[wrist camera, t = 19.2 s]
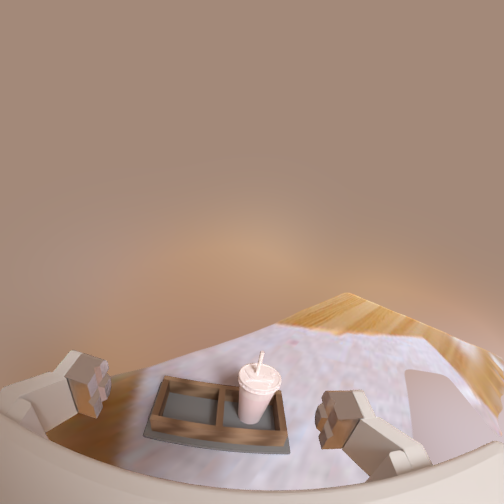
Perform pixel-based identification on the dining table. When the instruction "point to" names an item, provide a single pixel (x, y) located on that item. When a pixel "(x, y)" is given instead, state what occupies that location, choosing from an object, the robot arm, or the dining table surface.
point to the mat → (213, 423)
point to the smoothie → (256, 390)
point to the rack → (216, 431)
